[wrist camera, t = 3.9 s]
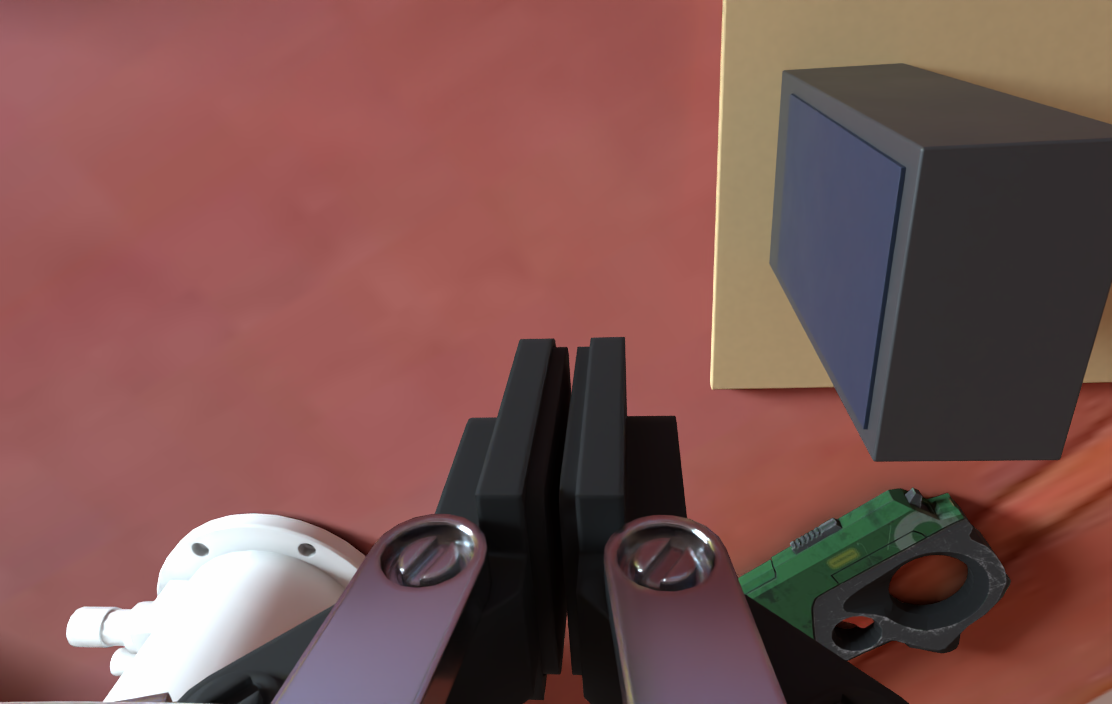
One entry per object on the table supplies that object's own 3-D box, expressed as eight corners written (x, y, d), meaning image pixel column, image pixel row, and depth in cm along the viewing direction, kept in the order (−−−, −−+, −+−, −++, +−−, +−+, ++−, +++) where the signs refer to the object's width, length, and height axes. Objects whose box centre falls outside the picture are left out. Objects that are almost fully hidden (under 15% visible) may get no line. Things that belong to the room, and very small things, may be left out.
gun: (754, 751, 40) (634, 647, 37) (750, 727, 41) (634, 625, 38) (1047, 615, 34) (931, 479, 31) (1031, 591, 35) (919, 458, 32)
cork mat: (710, 383, 31) (711, 390, 31) (726, -113, 23) (728, -115, 23) (1217, 373, 29) (1228, 380, 29) (1427, -172, 21) (1447, -175, 21)
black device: (766, 264, 28) (868, 463, 17) (778, 70, 25) (916, 147, 13) (877, 260, 28) (1061, 461, 16) (904, 62, 25) (1156, 136, 13)
